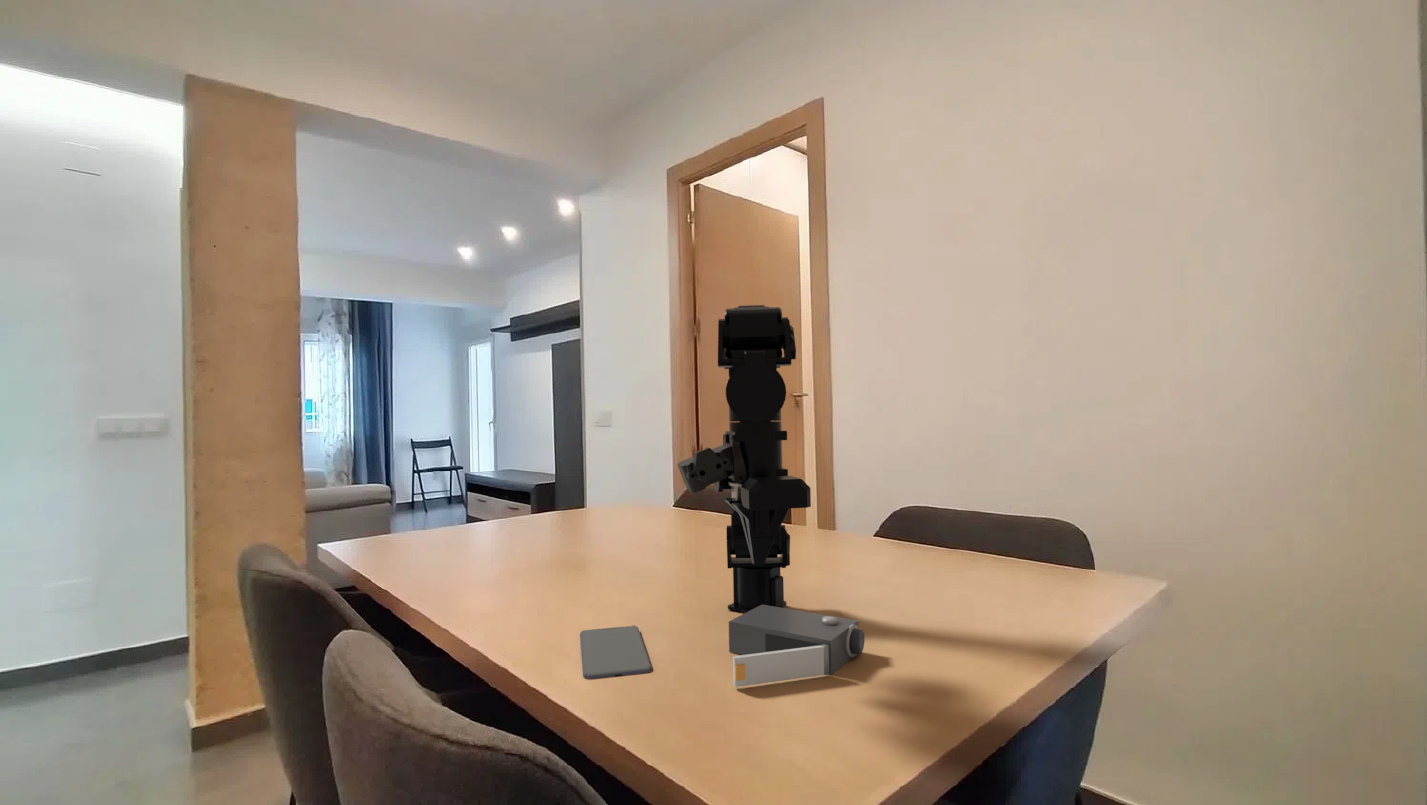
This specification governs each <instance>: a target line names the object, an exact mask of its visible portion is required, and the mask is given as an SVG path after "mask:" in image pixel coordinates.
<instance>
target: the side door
mask: <svg viewBox="0 0 1427 805" xmlns="http://www.w3.org/2000/svg"><path fill="white" fill-rule="evenodd" d="M732 675H733V676H732V682H733V687H734V688H739V687H746V686H752V685H760V684H768V683H776V682H780V681H781V682H782V681H787V680H795V679H796V680H797V679H802V678H810V677H817V676H823V675H826V676H827V675H830V674H829V649H828V645H825V644H824V645H818V646H811V647H803V648H795V649H787V650H779V651H771V652H763V653H756V654H748V655H740V654H739V655H733V656H732Z"/></svg>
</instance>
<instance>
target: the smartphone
mask: <svg viewBox="0 0 1427 805" xmlns="http://www.w3.org/2000/svg"><path fill="white" fill-rule="evenodd" d="M579 639H580V640H579V641H580V644H579V645H580V652H581V653H580V655H581V665H582V666H581V667H582V668H581V669H582V677H583V679H584V680H597V679H606V678H612V677H613V678H614V677H615V676H619V675H622V677H623V676H631V675H632V676H633V675H641V674H649V673H651V672H652V670H653V667H652V664H651V661H650V658H649V656H648V652H647V649H646V646H645V644H644V641H643V638H642V635H641V633H640V630H639V627H638V626H636V625H629V626H619V627H618V626H617V627H616V626H615V627H614V626H613V627H605V628H594V629H584V630H581V631H580V633H579Z"/></svg>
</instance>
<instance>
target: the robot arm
mask: <svg viewBox="0 0 1427 805" xmlns="http://www.w3.org/2000/svg"><path fill="white" fill-rule="evenodd" d="M782 312H783V311H782V308H781V307H779V306H777V307H772V306H771V307H770V306H766V305H764V304H754V305H753V304H752V305H749V304H748V305H738V306H737V307H733V308H726V309H725V310H724V318H718V322H717V323H718V324H717V327H718V328H717V330H718V331H717V332H718V334H717V367H718V368H720V369H721V368H724V370H728V380H727V383H726V386H725V398H726V399H725V400H726V402H727V405H728V421H729V423H728V425H729V428H728V429H729V430H727V431H725V433H723V434H722V444H720V445H719V446H716V447H713V448H710V447H708V446H706V447H704V449H701V450H699V451H694V452H693V456H691V457H688V458H685V459H684V460H681V461H679V462H677V466H678V470H679V472H680V475H681V477H682V481H683V483H684V485H685V488H686V490H687V491H689V493H691V494H695V493H699V492H702V491H703V490H705V489H706V488H707V487H709V486H710V485H713V491H715V492H717V493H723V492H724V490H731V497H725V498H724V501H725V503H727V504H728V505H729V506H730V507H731V508H732V509H733V511H732V513H731V515H730V521H731V522H730V523H731V524H730V525H726V556H727V557H726V561H727V562H726V563H727V569H732V582H733V584H732V585H733V586H732V587H733V603H730V604H728V605H727V609H728V610H729V611H730V610H731V611H737V612H742V613H746V612H748V611H750V610H752V609H754V608H756V607H758V606H760V605H768V606H774V607H780V608H784V607H785V606H787V600H785V596H784V595H785V594H784V592H785V591H784V587H785V586H784V576H783V575H781V569H786V568H787V567H788V566H791V560H790V559H791V556H790V554H791V535H790V534H789V533H788V531H787V529H786V525H785V524H783V522H784V519H785V518H786V516H787V513H788V511H789V510H790V509H807V508H811V507H812V504H811V503H812V500H811V496H812V495H811V494H812V493H811V487H810V486H809V485H808V483H807V482H805V481H804V479H802V478H799V477H796V476H792V475H789V470H788V469H789V468H785V467H783V442H782V441H788V431H787V430H782V429H783V428H782V408H783V406H784V404H785V401H786V397H787V388H786V387H787V386H786V384H785V381H784V378H783V376H782V375H781V374H780V372H779V371H778V369H780V368H781V367H790V366H792V360H797V349H796V347H797V346H796V340H795V329H794V327H793V326H792V325H791V324H790V323H791V321H790V319H789V317H787V316H784V317H783V313H782ZM778 555H779V556H778Z"/></svg>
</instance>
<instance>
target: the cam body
mask: <svg viewBox="0 0 1427 805" xmlns="http://www.w3.org/2000/svg"><path fill="white" fill-rule="evenodd" d="M859 625H860V624H859V620H857V619H852V618H845V617H840V616H833V615H827V614H822V613H815V612H811V611H810V612H809V611H803V610H797V609H790V608H786V607H782V608H780V607H774V606H768V605H760V606H758V607H756V608H754V609H752V610H750V611H748V612H743V614H740V615H738V616H737V617H735V618H732V619H731V620H729V621H728V650H729V651H728V653H732V654H736V655H739V656H740V655H748V654H756V653H763V652H771V651H779V650H787V649H795V648H803V647H811V646H818V645H824V644H825V645H828V649H829V674H828V675H830V676H831V675H833V674H834V673H835V672H837V671H838V670H839V669H840V668H841V667H843V666H844V664H846V663H847V662H848V661H850V660H851V659H853V658H855V657H856V656H860V655H862V653H863V651H864V647H865V632H864V631H863V629H861V628H859V627H860V626H859Z"/></svg>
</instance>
